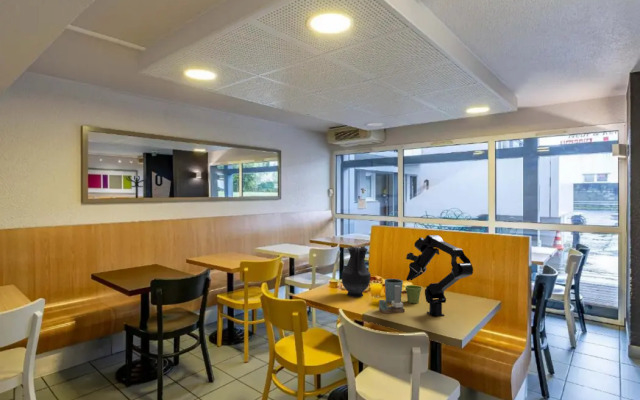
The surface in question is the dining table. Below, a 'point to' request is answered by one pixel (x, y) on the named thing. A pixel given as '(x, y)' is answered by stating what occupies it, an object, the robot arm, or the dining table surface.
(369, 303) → the dining table surface
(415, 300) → the plant pot
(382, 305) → the rail bed
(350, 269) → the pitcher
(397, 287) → the carriage
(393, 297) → the drinking glass
